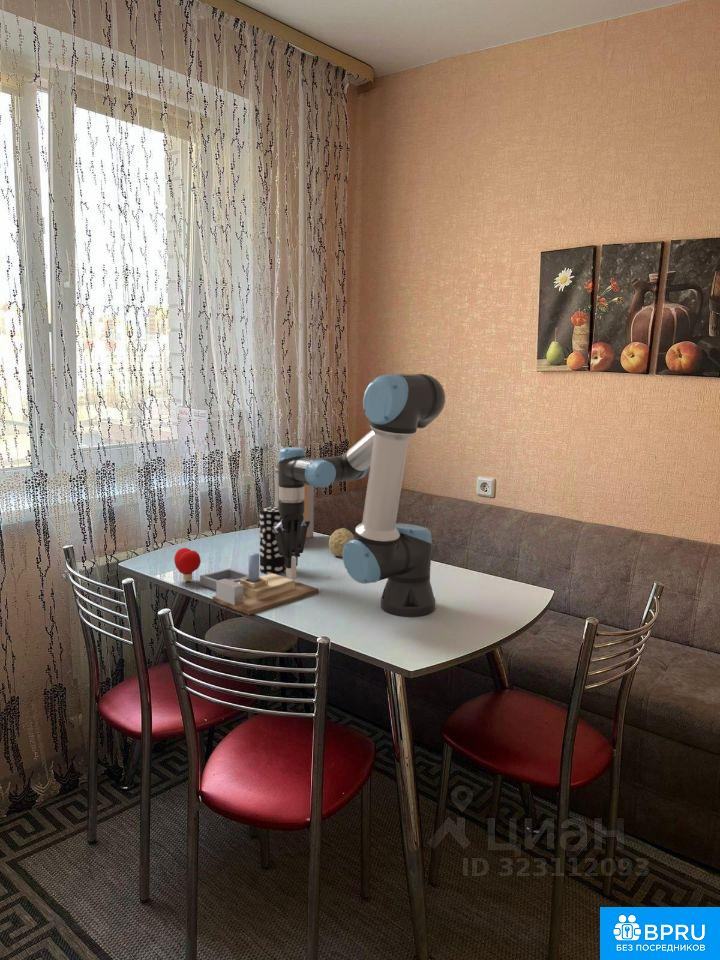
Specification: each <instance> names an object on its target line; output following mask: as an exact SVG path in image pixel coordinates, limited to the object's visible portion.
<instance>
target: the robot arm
mask: <svg viewBox="0 0 720 960" xmlns="http://www.w3.org/2000/svg"><path fill="white" fill-rule="evenodd" d="M445 404H446V393H445V389H444V387H443V385H442V384H441V383H440V381H439V380H438V379H436V377H433V376H431V375H430V374H425V373H416V374H415V373H407V374H406V373H404V374H403V373H389V374H383V375H379V376H376V377H375V378H374V379H373V380H372V381H371V382H369V383H368V385H367V387H366V389H365V391H364V394H363V400H362V407H363V410H364V411H365V412H364V414H365V416H366V418H367V419H368V420H369V421H370V422H369V427H370V429H371V430H370V431H369V432H367V433H366V434H365V435H364V436H363V437H361V439H359V440H358V441H357V442H356V443H355V444H353V446H351V447H350V448H349V449H348V450H347V451H346V452H344V453H343V454H342V455H335V456H327V457H325V456H324V457H317V458H315V457H313V458H311V457H306V452H305V449H304V448H302V447H298V446H294V447H293V446H292V447H291V446H288V447H286V446H285V447H282V448H281V449H280V450H279V453H278V461H277V463H278V465H279V499H280V501H279V513H280V519H279V523H278V524H277V526H273V530H274V532H275V535H276V540H277V545H278V550H279V555H280V556H284V557H285V567H286V571H285V573H286V576H285V578H288V579H292V580H294V579H295V580H296V579H297V567H298V565H299V563H298V561H299V560H298V558H300V557H301V554H303V553H304V549H305V543H306V540H305V539H306V533H307V528H308V526H309V524H310V521H307V520H305V519H304V516H303V513H304V501H303V500H304V486H305V484H308V485H312V486H314V488H327V487H330V485H331V484H335V483H341V482H349V481H351V482H352V481H357V480H360V479H363V478H365V477H366V476H367V473H368V478H367V479H368V480H367V486H366V493H365V500H364V507H363V514H362V521H361V523H359V524H357V525H356V527H355V529H354V533H353V535H354V540H350V541H349V542H348V543H347V544H345V546H344V548H343V557H342V562H343V566H344V568H345V570H346V571H347V573H348V575H349V576H350V578H352V579H353V580H354V581H355V582H356V583H358V584H364V585H366V584H371V583H378V582H380V581H382V580H386V579H387V580H386V583H385V586H384V589H383V590H382V591H383V592H382V595H381V597H380V608H381V609H382V611H384V612H387V613H389V614H391V615H397V616H402V617H421V616H425V615H429V614H431V613H433V612H435V610H436V601H437V600H436V598H435V596H434V592H433V588H432V584H431V565H432V564H431V563H432V562H431V561H432V545H433V542H432V532H431V531H430V529H429V528H427V527H424V526H421V525H418V524H417V525H415V524H408V523H397V517H398V512H399V505H400V499H401V498H400V497H401V493H402V492H401V491H402V485H403V479H404V474H405V473H404V472H405V466H406V459H407V453H408V448H409V447H408V446H409V443H410V442H409V440H410V438H412V437H413V436H414V435H416V434H417V429H419V430H420V429H425V428H426V427H427V426H429V424H431V423H432V422H434V421H435V420H436V419H437V418H438V417H439V416H440V415H441V413H442V412H443V410H444V407H445ZM282 528H283V529H282Z"/></svg>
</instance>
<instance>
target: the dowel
mask: <svg viewBox="0 0 720 960" xmlns="http://www.w3.org/2000/svg"><path fill="white" fill-rule="evenodd" d="M247 560H248V561H247V562H248V563H247V564H248V567H247V569H248V573H247V574H248V576H249V582H252V583H255V582H258V581H259V576H260V553H258V552H249V553H248V559H247Z"/></svg>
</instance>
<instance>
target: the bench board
mask: <svg viewBox="0 0 720 960" xmlns="http://www.w3.org/2000/svg"><path fill="white" fill-rule="evenodd" d="M319 593H320V589H319V588H318V587H314V586H311V585H308V584H305V583H302V582H299V581H297V580H295V589H292V590H289V591H285V592H282V593H279V594H275V595H272V596H269V597H266V598H262V599H259V600H256V599H253V598H250V597H248V596H245V595H243V603H240V604H237V605H233V604H230V603H228V602H225V601H222V600H220V599H217V594H216V595H213V596H211V597H212V600H211V601H212V602H215V603H217V604H219V605H222V606H225V607H228V608H230V609H232V610H235V611H237V612H240V613H243V614H245V615H248V616H251V615H254V614H256V613H260V612H262V611H266V610H269V609H272V608H275V607H279V606H282V605H284V604H287V603H291V602H294V601H297V600H300V599H303V598H307V597H310V596H313V595H316V594H319Z"/></svg>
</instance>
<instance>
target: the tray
mask: <svg viewBox="0 0 720 960" xmlns="http://www.w3.org/2000/svg"><path fill="white" fill-rule="evenodd" d="M248 577H249V576H248V573H245V572H241V571H239V570H236V569H232V568H230V567H229V568H226V569H221V570H218V571H214V572H210V573H206V574H201V575H199V586H201V587H203V588H206V589H209V590H211V591H213V592H216V593H217V589H216V581H218V580H222V579H228V580H230V581H233V582H236V583H237V582H240V580H241V579H245V578H248Z"/></svg>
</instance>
